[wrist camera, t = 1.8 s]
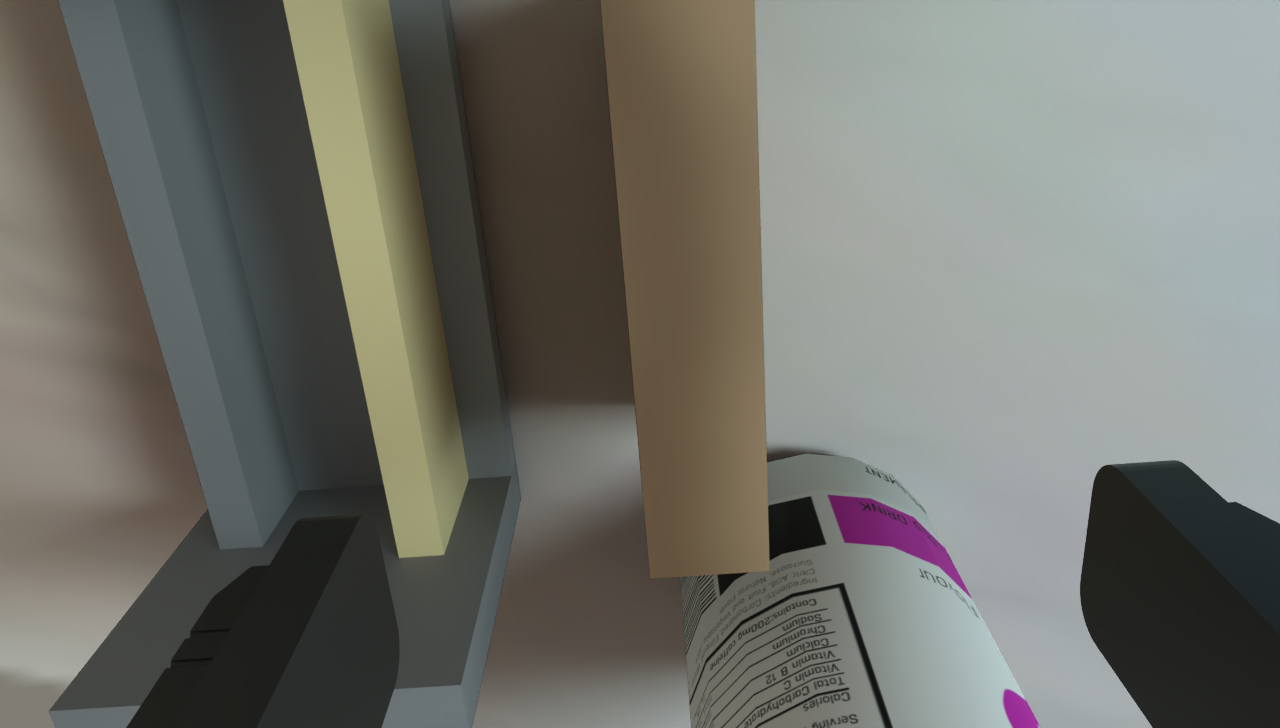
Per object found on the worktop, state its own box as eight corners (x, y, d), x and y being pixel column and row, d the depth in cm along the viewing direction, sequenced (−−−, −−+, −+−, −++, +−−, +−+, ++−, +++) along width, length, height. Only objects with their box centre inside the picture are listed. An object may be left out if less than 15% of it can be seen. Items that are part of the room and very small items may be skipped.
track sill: (429, -139, 23) (290, -210, 14) (520, 499, 30) (470, 734, 21) (66, -108, 23) (-309, -157, 14) (241, 518, 30) (68, 760, 21)
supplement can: (933, 433, 29) (1202, 853, 15) (922, 647, 32) (1136, 1154, 19) (671, 451, 29) (703, 881, 16) (685, 662, 33) (723, 1175, 19)
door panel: (714, -30, 24) (756, -27, 16) (732, 396, 29) (771, 570, 20) (609, -21, 24) (596, -15, 16) (644, 402, 29) (647, 578, 21)
